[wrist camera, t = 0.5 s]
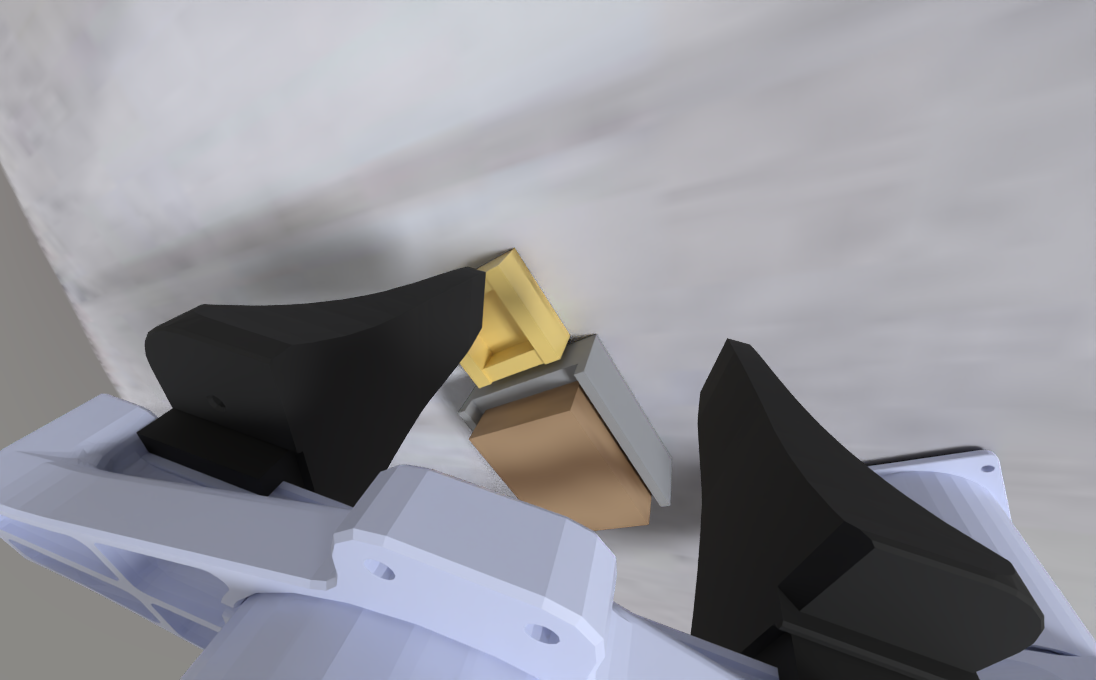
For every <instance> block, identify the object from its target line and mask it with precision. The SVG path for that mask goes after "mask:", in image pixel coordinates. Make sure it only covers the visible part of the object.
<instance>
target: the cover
mask: <svg viewBox="0 0 1096 680" xmlns="http://www.w3.org/2000/svg"><path fill="white" fill-rule="evenodd" d="M469 440H470V441H471V443H472V444H473V445H474V446H475V447H476V449H477V450H478V451H479V452H480V453H481V455H482V456H483V457H484V458H485V459H486V461H487V462H488V463H489V464H490V465H491V467H492V468H493V469H494V470H495V471H496V473H497V474H498V475H499V476H500V477H501V479H502V480H503V481H504V482H505V483H506V485H507V486H508V487H509V488H510V489H511V491H512V492H513V493H514V494H515V495H516V497H517V498H518V499H519V500H521V501H524V502H527V503H530V504H533V505H535V506H538V507H541V508H544V509H547V510H550V511H552V512H555V513H558V514H561V515H564V516H567V517H568V518H570V519H572V520H574V521H576V522H578V523H580V524H582V525H583V526H585V527H587V528H589V529H591V530H593V531H597V530H606V529H615V528H624V527H633V526H642V525H649V518H650V507H651V495H652V493H651V491H650V490H649V488H648V487H647V485H646V484H645V482H644V481H643V479H642V478H641V476H640V475H639V473H638V472H637V470H636V469H635V467H634V466H633V464H632V463H631V461H630V459H629V458H628V456H627V455H626V453H625V452H624V450H623V449H622V447H621V446H620V444H619V443H618V441H617V440H616V438H615V437H614V435H613V434H612V432H611V431H610V429H609V427H608V426H607V424H606V423H605V421H604V420H603V418H602V417H601V415H600V414H599V412H598V411H597V409H596V408H595V406H594V405H593V403H592V402H591V400H590V399H589V397H588V396H587V394H586V392H585V391H584V389H583V388H582V386H581V385H580V383H579V382H578V381H575V382H572V383H569V384H566V385H563V386H559V387H556V388H553V389H550V390H547V391H544V392H541V393H538V394H535V395H532V396H528V397H525V398H522V399H519V400H516V401H513V402H510V403H507V404H504V405H500V406H497V407H494V408H491V409H488V410H485V412H484V414H483V416H482V417H481V419H480V421H479V422H478V424H477V426H476V428H475V429H474V431H473V433H472V434H471V436H470V438H469Z"/></svg>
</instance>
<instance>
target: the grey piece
mask: <svg viewBox="0 0 1096 680" xmlns="http://www.w3.org/2000/svg"><path fill="white" fill-rule="evenodd" d="M575 381H578V382H579V383H580V385H581V386H582V388H583V389H584V391H585V392H586V394H587V396H588V397H589V399H590V400H591V402H592V403H593V405H594V406H595V408H596V409H597V411H598V412H599V414H600V415H601V417H602V418H603V420H604V421H605V423H606V424H607V426H608V427H609V429H610V431H611V432H612V434H613V435H614V437H615V438H616V440H617V441H618V443H619V444H620V446H621V447H622V449H623V450H624V452H625V453H626V455H627V456H628V458H629V459H630V461H631V463H632V464H633V466H634V467H635V469H636V470H637V472H638V473H639V475H640V476H641V478H642V479H643V481H644V482H645V484H646V485H647V487H648V488H649V490H650V491H651V493H652V494H653V496H654V498H655V499H656V501H657V502H658V504H659V505H660V507H664V506H670V500H671V476H672V458H671V456H670V455H669V453H668V451H667V450H666V448H665V447H664V445H663V443H662V442H661V440H660V438H659V437H658V435H657V433H656V432H655V430H654V428H653V427H652V425H651V423H650V422H649V420H648V418H647V417H646V415H645V413H644V412H643V410H642V408H641V407H640V405H639V404H638V402H637V400H636V399H635V397H634V395H633V394H632V392H631V390H630V389H629V387H628V385H627V384H626V382H625V380H624V379H623V377H622V375H621V374H620V372H619V370H618V369H617V367H616V365H615V364H614V362H613V361H612V359H611V357H610V356H609V354H608V352H607V351H606V349H605V347H604V346H603V344H602V342H601V341H600V339H599V337H598V336H597V334H596V335H593V336H590V337H588V338H585V339H582V340H580V341H577V342H574V343H572V344H569V345H566V347H565V349H564V351H563V354H562V356H561V358H560V359H559V360H556V361H554V362H551V363H548V364H545V363H543V364H540V365H538V366H535V367H532V368H529V369H527V370H524V371H521V372H518V373H516V374H513V375H510V376H507V377H505V378H502V379H499V380H496V381H494V382H492V383H491V384H490V385H487V386H484V387H481V388H478V386H477V385H476V386H475V388H474V389H473V391H472V392H471V394H470V395H469V397H468V398H467V400H466V401H465V403H464V405H463V406H462V408H461V409H460V411H459V412H458V414H459V415H460V417H461V418H462V419H463V420H464V421H465V423H466V424H467V425H468V426H469V428H470V429H471V430H472V431H474V429H475V428H476V426H477V424H478V422H479V421H480V419H481V417H482V416H483V414H484V412H485V410H488V409H491V408H494V407H497V406H500V405H504V404H507V403H510V402H513V401H516V400H519V399H522V398H525V397H528V396H532V395H535V394H538V393H541V392H544V391H547V390H550V389H553V388H556V387H559V386H563V385H566V384H569V383H572V382H575Z"/></svg>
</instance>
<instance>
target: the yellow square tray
mask: <svg viewBox="0 0 1096 680" xmlns="http://www.w3.org/2000/svg"><path fill="white" fill-rule="evenodd" d="M477 270H481V271H484V272H486V279H485V293H484V307H483V321H482V329H481V331H480V332H479V334H478V336H477V338H476V340H475V341H474V343H473V345H472V346H471V348H470V350H469V351H468V353H467V354H466V355H465V357H464V358H463V359H462V361H461V362H460V364H461V366H462V367H463V368H464V370H465V371H466V372H467V373H468V375H469V376H470V377H471V379H472V380H473V381H474V383H475V384H476V385H477V386H478V388H481V387H484V386H487V385H490V384H491V383H492V382H494V381H496V380H499V379H502V378H505V377H507V376H510V375H513V374H516V373H518V372H521V371H524V370H527V369H529V368H532V367H535V366H538V365H540V364H543V363H545V364H548V363H551V362H554V361H556V360H559V359H560V358H561V356H562V354H563V351H564V349H565V347H566V344H567V342H568V340H569V338H570V335H569V333H568V331H567V330H566V328H565V327H564V325H563V323H562V322H561V320H560V319H559V317H558V316H557V314H556V312H555V311H554V309H553V308H552V306H551V305H550V303H549V301H548V300H547V298H546V297H545V295H544V294H543V292H542V290H541V289H540V287H539V286H538V284H537V282H536V281H535V279H534V278H533V276H532V275H531V273H530V271H529V270H528V268H527V267H526V265H525V264H524V262H523V260H522V259H521V257H520V256H519V254H518V252H517V251H516V249H515V248H513V249H512V250H510V251H508V252H506V253H504V254H503V255H501V256H499V257H497V258H495V259H494V260H492V261H490V262H488V263H486V264H485V265H483V266H481V267H479V268H477Z"/></svg>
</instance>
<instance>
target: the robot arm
mask: <svg viewBox="0 0 1096 680" xmlns="http://www.w3.org/2000/svg"><path fill="white" fill-rule="evenodd" d="M485 279H486V272H484V271H481V270H477V269H473V268H470V267H464V268H460V269H456V270H453V271H450V272H446V273H443V274H440V275H437V276H434V277H431V278H428V279H425V280H422V281H419V282H416V283H412V284H409V285H405V286H402V287H398V288H394V289H391V290H387V291H384V292H379V293H375V294H370V295H365V296H360V297H355V298H349V299H343V300H334V301H326V302H317V303H308V304H293V305H268V306H245V305H209V304H203V305H200V306H198V307H196V308H194V309H192V310H190V311H188V312H185V313H183V314H181V315H179V316H177V317H175V318H173V319H171V320H169V321H167V322H165V323H163V324H161V325H159V326H157V327H155V328H154V329H152V330H151V331H149V332H148V334H147V337H146V340H145V352H146V357H147V359H148V362H149V364H150V366H151V368H152V370H153V372H154V374H155V376H156V378H157V380H158V382H159V383H160V385H161V387H162V389H163V391H164V393H165V395H166V397H167V398H168V400H169V402H170V404H171V406H172V408H173V409H171V410H170V411H168V412H167V413H165V414H164V415H162V416H161V417H159V418H158V417H157V416H156V415H155V414H154V413H152V412H151V411H150V410H148V409H146V408H144V407H142V406H139V405H137V404H134V403H131V402H128V401H126V400H123V399H120V398H117V397H115V396H112V395H109V394H100V395H98V396H96V397H95V398H93V399H91V400H89V401H87V402H86V403H84V404H82V405H80V406H79V407H77V408H75V409H73V410H71V411H69V412H68V413H66V414H64V415H62V416H61V417H59V418H57V419H56V420H53V421H52V422H50V423H48V424H46V425H44V426H43V427H41V428H39V429H37V430H36V431H34V432H32V433H30V434H29V435H27V436H25V437H23V438H22V439H19V440H18V441H16V442H14V443H12V444H11V445H9V446H7V447H5V448H4V449H2V450H0V537H1V538H2V539H3V540H4V541H5V542H6V543H8V544H9V545H10V546H11V547H12V548H13V549H15V550H16V551H17V552H18V553H19V554H21V555H22V556H23V557H24V558H25V559H27V560H29V561H31V562H34V563H36V564H38V565H40V566H42V567H44V568H46V569H48V570H51V571H53V572H55V573H57V574H59V575H61V576H63V577H65V578H67V579H69V580H71V581H73V582H75V583H77V584H79V585H81V586H83V587H85V588H87V589H89V590H91V591H93V592H95V593H97V594H99V595H101V596H103V597H105V598H107V599H109V600H111V601H113V602H114V603H117V604H118V605H120V606H122V607H124V608H126V609H128V610H130V611H131V612H133V613H135V614H137V615H139V616H141V617H143V618H144V619H146V620H149V621H150V622H152V623H154V624H156V625H157V626H160V627H161V628H163V629H165V630H167V631H169V632H171V633H173V634H174V635H176V636H178V637H180V638H182V639H184V640H185V641H187V642H189V643H191V644H193V645H195V646H196V647H198V648H200V649H202V650H203V652H202V653H201V654H200V655H199V657H198V658H197V659H196V660H195V661H194V663H193V664H192V665H191V666H190V667H189V669H188V670H187V671H186V672H185V673H184V675H183V676H182V677H181V678H180V679H179V680H1096V641H1095V639H1094V638H1093V636H1092V635H1091V634H1090V632H1089V631H1088V629H1087V628H1086V627H1085V625H1084V624H1083V622H1082V621H1081V619H1080V618H1079V617H1078V615H1077V614H1076V612H1075V611H1074V610H1073V608H1072V607H1071V605H1070V604H1069V602H1068V601H1067V600H1066V598H1065V597H1064V595H1063V594H1062V592H1061V591H1060V590H1059V588H1058V587H1057V585H1056V584H1055V583H1054V581H1053V580H1052V578H1051V577H1050V575H1049V574H1048V573H1047V571H1046V570H1045V568H1044V567H1043V565H1042V564H1041V563H1040V561H1039V560H1038V558H1037V557H1036V556H1035V554H1034V553H1033V551H1032V550H1031V548H1030V547H1029V546H1028V544H1027V543H1026V541H1025V540H1024V539H1023V537H1022V536H1021V534H1020V533H1019V531H1018V530H1017V529H1016V527H1015V526H1014V524H1013V523H1012V520H1011V515H1010V510H1009V505H1008V501H1007V496H1006V491H1005V486H1004V481H1003V476H1002V471H1001V467H1000V462H999V459H998V457H997V456H996V455H995V453H994V452H992V451H989V450H977V451H970V452H963V453H957V454H950V455H943V456H936V457H929V458H922V459H915V460H908V461H901V462H894V463H887V464H881V465H874V466H866V465H865V464H864V463H862V462H861V461H860V460H859V459H858V458H856V457H855V456H854V455H853V454H852V453H850V452H849V451H848V450H847V449H846V448H845V447H844V446H843V445H841V444H840V443H839V442H838V441H837V440H836V439H835V438H834V437H833V436H832V435H830V434H829V433H828V432H827V431H826V430H825V429H824V428H823V427H822V426H821V425H820V424H819V423H818V422H817V421H816V420H815V419H814V418H813V417H812V416H811V415H810V414H809V413H808V412H807V410H806V409H805V408H804V407H803V406H802V405H801V404H800V403H799V402H798V401H797V400H796V399H795V397H794V396H793V395H792V394H791V393H790V392H789V390H788V389H787V388H786V387H785V386H784V385H783V383H782V382H781V381H780V380H779V379H778V377H777V376H776V375H775V374H774V372H773V371H772V370H771V369H770V368H769V366H768V365H767V364H766V363H765V361H764V360H763V359H762V358H761V356H760V355H759V354H758V353H757V352H756V351H755V349H754V348H753V347H752V346H751V345H750V344H746V343H742V342H739V341H735V340H731V339H728V338H727V340H726V342H725V344H724V346H723V348H722V350H721V352H720V354H719V356H718V358H717V360H716V362H715V364H714V366H713V368H712V370H711V372H710V374H709V376H708V378H707V380H706V382H705V384H704V386H703V388H702V390H701V392H700V401H699V411H698V439H699V455H700V470H701V486H702V513H701V531H700V546H699V558H698V571H697V582H696V591H695V601H694V611H693V620H692V628H691V635H689V634H687V633H684V632H681V631H679V630H676V629H673V628H671V627H668V626H665V625H663V624H660V623H657V622H655V621H652V620H650V619H647V618H644V617H642V616H639V615H636V614H634V613H632V612H630V611H629V610H627V609H625V608H624V607H622V606H620V605H619V604H617V603H615V602H614V601H613V598H614V591H615V584H616V577H617V571H616V556H615V555H614V554H613V553H612V551H611V550H610V549H609V548H608V547H607V545H606V544H605V543H604V542H603V541H602V540H601V539H600V537H599V536H598V535H597V534H596V533H595V532H594V531H593V530H591V529H589V528H587V527H585V526H583V525H582V524H580V523H578V522H576V521H574V520H572V519H570V518H568V517H567V516H564V515H561V514H558V513H555V512H552V511H550V510H547V509H544V508H541V507H538V506H535V505H533V504H530V503H527V502H524V501H521V500H518V499H516V498H513V497H510V496H507V495H504V494H501V493H499V492H496V491H493V490H490V489H487V488H484V487H482V486H479V485H476V484H473V483H470V482H467V481H465V480H462V479H459V478H456V477H453V476H450V475H448V474H445V473H442V472H439V471H436V470H433V469H429V468H423V467H418V466H412V465H398V466H395V467H392V468H390V469H387V468H388V467H389V465H390V463H391V461H392V460H393V458H394V456H395V454H396V453H397V451H398V449H399V448H400V446H401V444H402V443H403V441H404V439H405V437H406V436H407V434H408V433H409V431H410V429H411V428H412V426H413V425H414V423H415V421H416V420H417V418H418V417H419V415H420V413H421V412H422V410H423V409H424V408H425V406H426V405H427V404H428V402H429V401H430V399H431V398H432V397H433V396H434V394H435V393H436V392H437V391H438V389H439V388H440V387H441V386H442V384H443V383H444V382H445V381H446V379H447V378H448V377H449V376H450V374H451V373H452V372H453V371H454V370H455V368H456V367H457V366H458V364H459V363H460V362H461V361H462V359H463V358H464V357H465V355H466V354H467V353H468V351H469V350H470V348H471V346H472V345H473V343H474V341H475V340H476V338H477V336H478V334H479V332H480V331H481V329H482V321H483V307H484V293H485ZM986 465H987V466H986Z"/></svg>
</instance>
